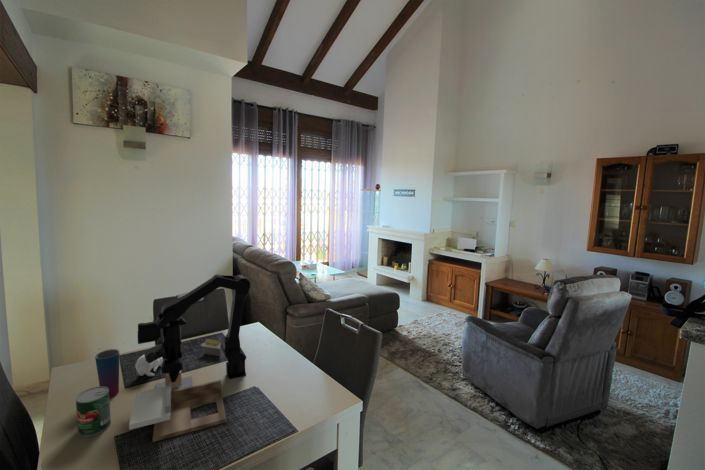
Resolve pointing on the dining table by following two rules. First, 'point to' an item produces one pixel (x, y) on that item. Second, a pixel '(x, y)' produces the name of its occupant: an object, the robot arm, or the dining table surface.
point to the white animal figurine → (147, 366)
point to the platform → (211, 347)
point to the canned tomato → (93, 411)
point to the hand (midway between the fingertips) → (173, 378)
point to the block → (174, 384)
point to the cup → (108, 370)
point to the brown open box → (182, 414)
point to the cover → (151, 407)
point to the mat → (185, 383)
